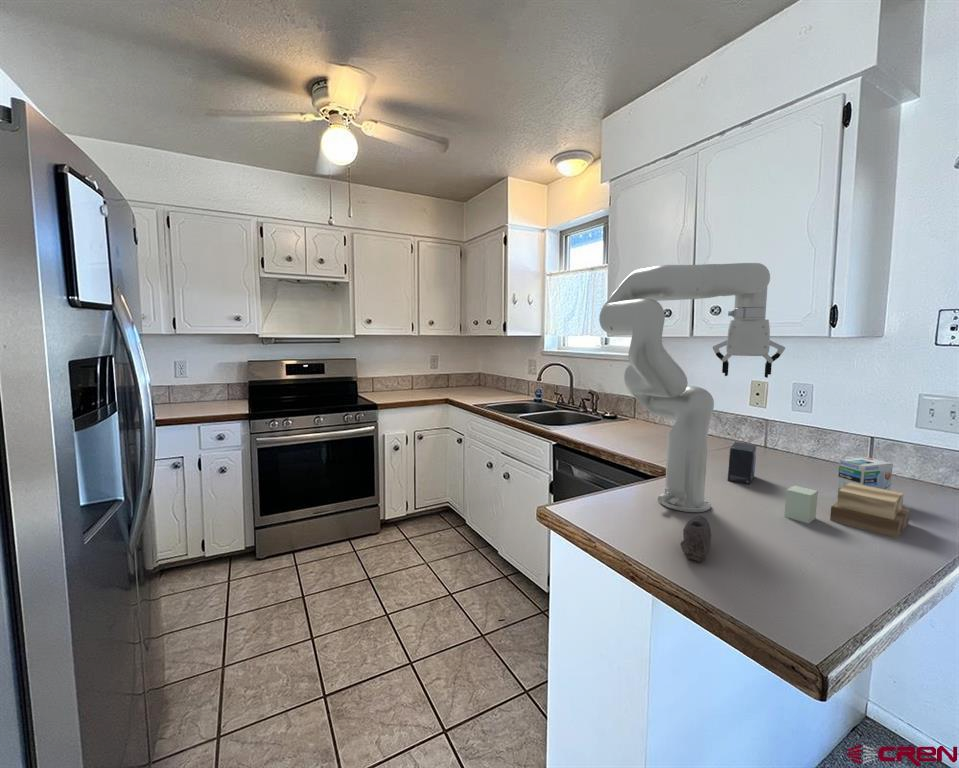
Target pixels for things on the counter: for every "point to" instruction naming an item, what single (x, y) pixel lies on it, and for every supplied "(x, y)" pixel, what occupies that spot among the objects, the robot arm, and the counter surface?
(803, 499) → the sage block
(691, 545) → the perforated stone tool
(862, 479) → the light bulb box
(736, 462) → the small box
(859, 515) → the walnut slab
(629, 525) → the counter surface
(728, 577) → the counter surface
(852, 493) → the oak slab
